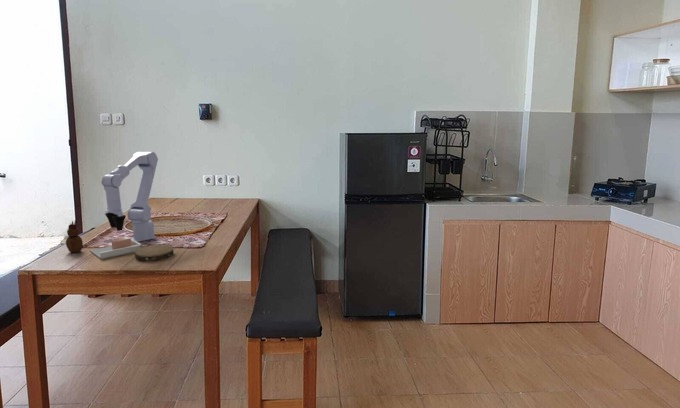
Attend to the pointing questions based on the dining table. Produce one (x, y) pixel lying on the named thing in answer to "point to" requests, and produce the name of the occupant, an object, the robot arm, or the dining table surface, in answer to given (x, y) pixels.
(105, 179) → the robot arm
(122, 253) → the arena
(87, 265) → the dining table surface
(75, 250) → the wooden figurine
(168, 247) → the wooden log slice
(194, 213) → the dining table surface
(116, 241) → the terracotta block
